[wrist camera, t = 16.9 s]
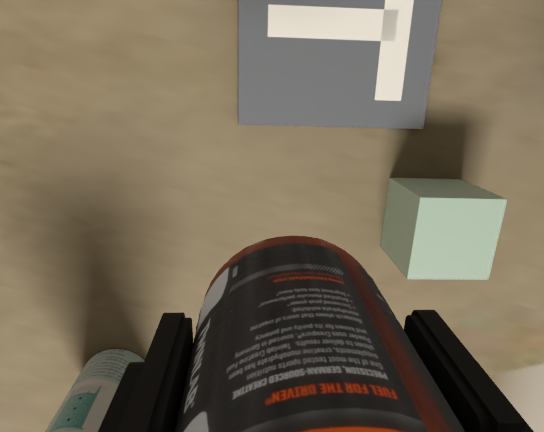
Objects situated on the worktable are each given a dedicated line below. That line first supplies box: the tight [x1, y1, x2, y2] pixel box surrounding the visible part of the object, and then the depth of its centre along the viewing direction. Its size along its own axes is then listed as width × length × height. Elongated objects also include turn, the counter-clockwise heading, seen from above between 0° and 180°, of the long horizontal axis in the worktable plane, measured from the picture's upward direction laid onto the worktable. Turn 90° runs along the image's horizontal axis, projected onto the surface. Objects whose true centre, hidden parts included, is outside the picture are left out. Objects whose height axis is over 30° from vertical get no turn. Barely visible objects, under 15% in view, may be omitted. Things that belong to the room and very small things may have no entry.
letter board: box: [238, 0, 442, 129], centre depth 27 cm, size 14×14×1 cm
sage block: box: [380, 178, 507, 280], centre depth 30 cm, size 6×6×6 cm
